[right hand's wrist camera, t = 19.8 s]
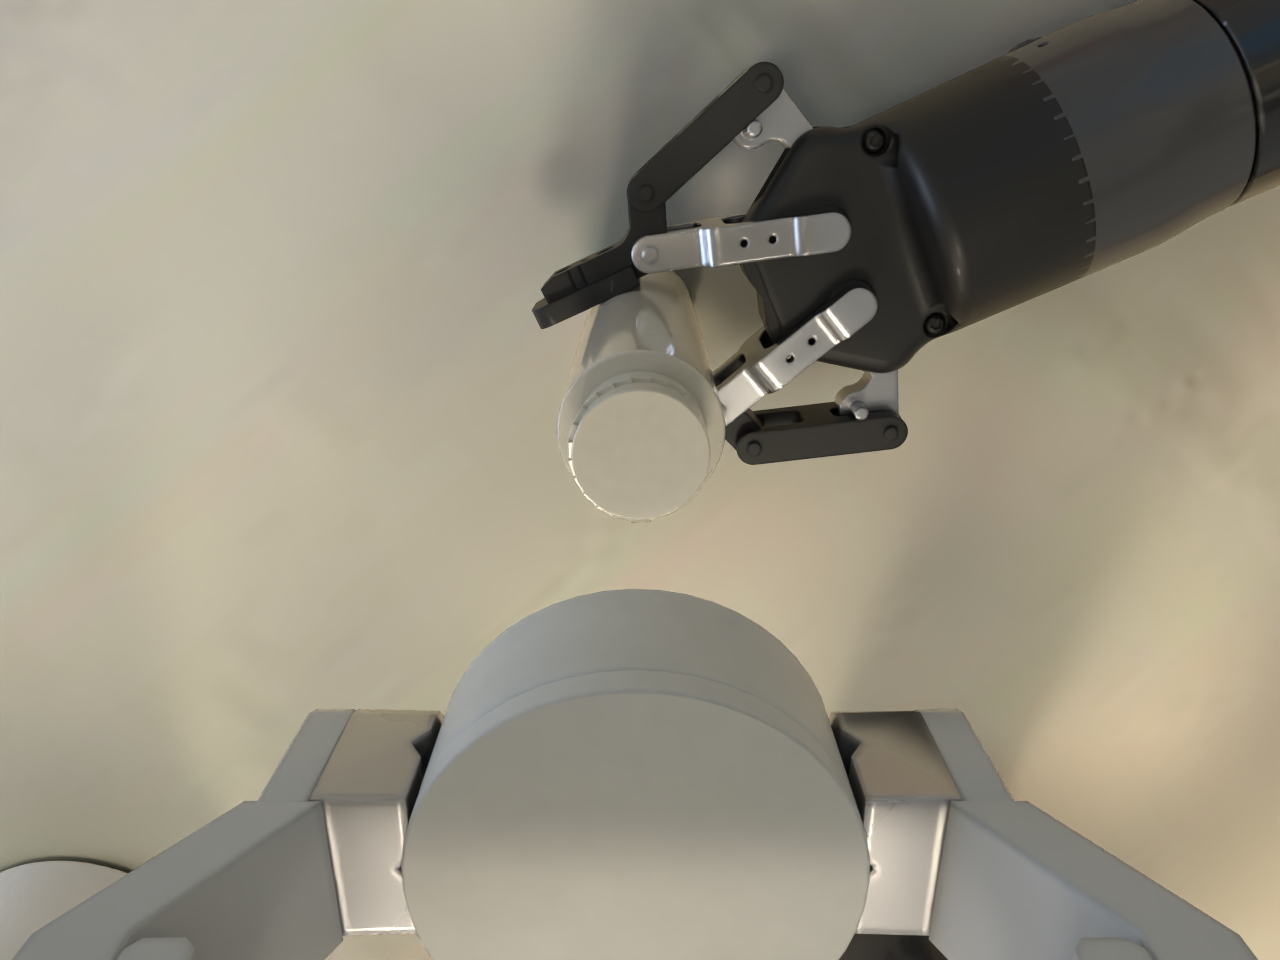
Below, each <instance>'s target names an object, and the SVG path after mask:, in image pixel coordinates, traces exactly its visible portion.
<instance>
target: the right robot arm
mask: <svg viewBox="0 0 1280 960" xmlns="http://www.w3.org/2000/svg"><path fill="white" fill-rule="evenodd" d="M443 719H444V716H443V715H442V713H441V712H440V711H413V710H367V709H359V710H354V709H316V710H315V711H313V712H311V713H309V714H308V715H307V717H306V718H305V720H304V722H303V724H302V725H301V727H300V729H299V730H298V732H297V734H296V736H295V737H294V739H293V741H292V742H291V744H290V746H289V748H288V749H287V751H286V753H285V755H284V756H283V758H282V760H281V761H280V763H279V765H278V767H277V768H276V770H275V772H274V773H273V775H272V777H271V779H270V780H269V782H268V784H267V785H266V787H265V789H264V791H263V792H262V794H261V796H260V797H259V799H258V801H244V802H242V803H241V804H239V805H238V806H236V807H234V808H233V809H231V810H229V811H228V812H226V813H225V814H223V815H221V816H220V817H218V818H217V819H215V820H213V821H212V822H210V823H209V824H207V825H205V826H204V827H202V828H201V829H199V830H197V831H196V832H194V833H193V834H191V835H189V836H188V837H186V838H184V839H183V840H181V841H180V842H178V843H176V844H175V845H173V846H172V847H170V848H168V849H167V850H165V851H164V852H162V853H160V854H159V855H157V856H156V857H154V858H152V859H151V860H149V861H148V862H146V863H144V864H143V865H141V866H139V867H138V868H136V869H135V870H133V871H131V872H130V873H126V872H123V871H120V870H117V869H113V868H109V867H106V866H101V865H97V864H91V863H85V862H76V861H42V862H34V863H28V864H24V865H20V866H16V867H13V868H10V869H7V870H5V871H2V872H0V960H324V959H325V958H326V957H327V956H328V955H329V954H330V953H331V952H332V951H333V950H334V949H335V948H336V947H337V946H338V945H339V944H340V943H341V942H342V941H343V936H348V935H382V934H416V930H415V928H414V925H413V923H412V921H411V918H410V916H409V913H408V909H407V905H406V900H405V896H404V892H403V884H402V870H401V862H402V853H403V843H404V838H405V835H406V831H407V828H408V824H409V821H410V817H411V814H412V811H413V808H414V805H415V802H416V799H417V797H418V794H419V790H420V787H421V784H422V781H423V779H424V776H425V773H426V770H427V767H428V764H429V761H430V758H431V755H432V752H433V749H434V746H435V743H436V740H437V737H438V734H439V731H440V728H441V725H442V722H443ZM829 721H830V725H831V728H832V731H833V734H834V737H835V740H836V743H837V746H838V749H839V752H840V755H841V758H842V761H843V764H844V768H845V771H846V774H847V777H848V780H849V783H850V786H851V789H852V792H853V795H854V798H855V801H856V804H857V808H858V811H859V814H860V817H861V820H862V823H863V826H864V829H865V832H866V837H867V843H868V849H869V855H870V882H869V888H868V893H867V899H866V904H865V908H864V911H863V914H862V917H861V919H860V922H859V925H858V928H857V930H856V932H855V934H889V935H924V936H929V940H930V941H931V942H932V943H933V944H934V945H935V947H936V948H937V949H938V950H939V951H940V952H941V953H942V954H943V955H944V956H945V957H946V958H947V959H948V960H1258V959H1257V958H1256V956H1255V955H1254V954H1253V952H1252V951H1251V950H1250V948H1249V947H1248V946H1247V944H1246V943H1245V942H1244V940H1243V939H1242V938H1241V936H1240V935H1239V934H1237V933H1235V932H1234V931H1232V930H1231V929H1229V928H1227V927H1226V926H1224V925H1223V924H1221V923H1220V922H1218V921H1216V920H1215V919H1213V918H1212V917H1210V916H1208V915H1207V914H1205V913H1204V912H1202V911H1201V910H1199V909H1197V908H1196V907H1194V906H1193V905H1191V904H1189V903H1188V902H1186V901H1185V900H1183V899H1181V898H1180V897H1178V896H1177V895H1175V894H1174V893H1172V892H1170V891H1169V890H1167V889H1166V888H1164V887H1162V886H1161V885H1159V884H1158V883H1156V882H1154V881H1153V880H1151V879H1150V878H1148V877H1147V876H1145V875H1143V874H1142V873H1140V872H1139V871H1137V870H1135V869H1134V868H1132V867H1131V866H1129V865H1127V864H1126V863H1124V862H1123V861H1121V860H1120V859H1118V858H1116V857H1115V856H1113V855H1112V854H1110V853H1108V852H1107V851H1105V850H1104V849H1102V848H1100V847H1099V846H1097V845H1096V844H1094V843H1093V842H1091V841H1089V840H1088V839H1086V838H1085V837H1083V836H1081V835H1080V834H1078V833H1077V832H1075V831H1074V830H1072V829H1070V828H1069V827H1067V826H1066V825H1064V824H1062V823H1061V822H1059V821H1058V820H1056V819H1054V818H1053V817H1051V816H1050V815H1048V814H1047V813H1045V812H1043V811H1042V810H1040V809H1039V808H1037V807H1035V806H1034V805H1032V804H1031V803H1029V802H1027V801H1014V800H1013V798H1012V797H1011V795H1010V793H1009V791H1008V790H1007V788H1006V786H1005V784H1004V783H1003V781H1002V779H1001V777H1000V776H999V774H998V772H997V771H996V769H995V767H994V765H993V764H992V762H991V760H990V758H989V757H988V755H987V753H986V751H985V750H984V748H983V746H982V745H981V743H980V741H979V739H978V738H977V736H976V734H975V732H974V731H973V729H972V727H971V725H970V724H969V722H968V720H967V719H966V717H965V715H964V713H962V712H961V711H959V710H958V709H929V710H915V711H880V712H831V713H830V717H829Z"/></svg>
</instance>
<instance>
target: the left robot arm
mask: <svg viewBox="0 0 1280 960" xmlns="http://www.w3.org/2000/svg"><path fill="white" fill-rule="evenodd" d="M783 85H784V80H783V75H782V73H781V71H780V70H779V68H778V67H777V66H776V65H774V64H772V63H769V62H760V63H757V64H755V65H754V66H752V67H750V68H748V69H747V70H745V71H744V72H743V73H742V74H741V75H739V76H738V77H737V78H736V79H735V80H734V81H733V82H732V83H731V84H730V85H729V86H728V87H727V88H726V89H725V90H723V91H722V92H721V93H720V94H719V95H718V96H717V97H716V98H715V99H714V100H713V101H712V102H711V103H710V104H709V105H708V106H706V107H705V108H704V109H703V110H702V111H701V112H700V113H699V114H698V115H697V116H696V117H695V118H694V119H693V120H692V121H690V122H689V123H688V124H687V125H686V126H685V127H684V128H683V129H682V130H681V131H680V132H679V133H678V134H677V135H676V136H675V137H673V138H672V139H671V140H670V141H669V142H668V143H667V144H666V145H665V146H664V147H663V148H662V149H661V150H660V151H659V152H657V153H656V154H655V155H654V156H653V157H652V158H651V159H650V160H649V161H648V162H647V163H646V164H645V165H644V166H643V167H642V168H640V169H639V170H638V171H637V172H636V173H635V174H634V175H633V176H632V177H631V179H630V181H629V184H628V188H627V198H628V211H629V230H628V232H627V234H626V235H625V237H624V238H623V239H622V240H621V241H619V242H618V243H616V244H614V245H612V246H609V247H607V248H605V249H603V250H601V251H599V252H596V253H594V254H592V255H590V256H588V257H586V258H584V259H582V260H579V261H577V262H575V263H573V264H571V265H568V266H566V267H564V268H562V269H560V270H558V271H556V272H555V273H554V274H553V275H552V276H551V277H550V278H549V279H548V280H547V281H546V283H545V284H544V286H543V287H542V289H541V291H542V293H543V295H544V297H545V298H544V299H542V300H540V301H538V302H537V303H536V304H535V306H534V308H533V309H532V312H533V314H534V316H535V318H536V320H537V322H538V324H539V326H540V328H541V329H544V328H547V327H550V326H552V325H554V324H557V323H559V322H561V321H563V320H566V319H568V318H570V317H572V316H574V315H577V314H579V313H581V312H583V311H585V310H588V309H590V308H592V307H594V306H596V305H599V304H601V303H603V302H605V301H607V300H609V299H611V298H613V297H615V296H617V295H620V294H623V293H625V292H627V291H629V290H632V289H634V288H636V287H638V286H640V277H643V276H645V275H647V274H652V273H660V272H667V271H674V270H681V269H689V268H696V267H720V266H727V265H735V264H740V266H741V269H742V271H743V273H744V274H745V275H746V277H747V278H748V280H749V281H750V282H751V284H752V285H753V286H754V287H755V289H756V291H757V299H758V307H759V313H760V316H761V318H762V321H763V323H764V326H763V327H762V328H761V329H760V330H759V331H757V332H756V333H755V334H754V335H752V336H751V337H750V338H749V339H748V340H747V341H745V342H744V344H743V345H742V346H741V348H740V349H739V351H738V352H737V353H736V354H734V355H733V356H732V357H731V358H730V359H728V360H727V361H726V362H725V363H723V364H722V365H721V366H720V367H719V368H717V369H716V370H715V371H714V372H713V373H712V374H713V378H714V381H715V385H716V388H717V392H718V395H719V399H720V402H721V406H722V409H723V413H724V419H725V439H726V440H727V441H728V442H729V443H730V444H731V445H732V446H733V447H734V448H735V449H736V450H737V453H738V456H739V458H740V459H741V460H742V461H743V462H745V463H747V464H751V465H756V464H765V463H774V462H783V461H791V460H800V459H809V458H818V457H827V456H836V455H844V454H853V453H862V452H871V451H880V450H889V449H894V448H897V447H899V446H900V445H901V444H902V443H903V442H904V441H905V439H906V437H907V434H908V429H907V426H906V424H905V422H904V421H903V420H902V419H901V417H900V415H899V413H898V369H900V368H901V367H903V366H904V365H905V364H907V363H908V362H909V361H910V359H911V358H912V357H913V356H914V355H915V353H916V352H917V351H918V350H919V349H920V348H922V347H923V346H924V345H925V344H927V343H928V342H929V341H931V340H933V339H935V338H937V337H940V336H943V335H946V334H948V333H951V332H954V331H957V330H959V329H961V328H964V327H966V326H968V325H971V324H973V323H975V322H978V321H980V320H983V319H985V318H987V317H990V316H992V315H994V314H997V313H999V312H1001V311H1004V310H1006V309H1009V308H1011V307H1013V306H1016V305H1018V304H1020V303H1023V302H1025V301H1028V300H1030V299H1032V298H1035V297H1037V296H1039V295H1042V294H1044V293H1047V292H1049V291H1051V290H1054V289H1056V288H1058V287H1061V286H1063V285H1066V284H1068V283H1070V282H1073V281H1075V280H1077V279H1080V278H1082V277H1085V276H1087V275H1089V274H1092V273H1094V272H1096V271H1099V270H1101V269H1103V268H1106V267H1108V266H1111V265H1113V264H1115V263H1118V262H1120V261H1122V260H1125V259H1127V258H1130V257H1132V256H1134V255H1137V254H1139V253H1142V252H1144V251H1146V250H1148V249H1150V248H1152V247H1155V246H1157V245H1159V244H1161V243H1163V242H1165V241H1166V240H1168V239H1170V238H1172V237H1174V236H1176V235H1177V234H1179V233H1181V232H1182V231H1184V230H1186V229H1187V228H1189V227H1191V226H1192V225H1194V224H1196V223H1198V222H1199V221H1201V220H1203V219H1205V218H1207V217H1209V216H1211V215H1213V214H1215V213H1217V212H1219V211H1221V210H1223V209H1225V208H1227V207H1229V206H1231V205H1234V204H1236V203H1238V202H1241V201H1243V200H1246V199H1248V198H1250V197H1253V196H1255V195H1257V194H1260V193H1262V192H1264V191H1267V190H1269V189H1272V188H1274V187H1276V186H1279V185H1280V0H1140V1H1137V2H1134V3H1131V4H1128V5H1125V6H1122V7H1118V8H1115V9H1112V10H1108V11H1105V12H1102V13H1099V14H1096V15H1093V16H1090V17H1087V18H1085V19H1082V20H1080V21H1078V22H1075V23H1073V24H1070V25H1068V26H1066V27H1064V28H1062V29H1060V30H1057V31H1055V32H1053V33H1051V34H1049V35H1046V36H1044V37H1039V38H1035V39H1030V40H1027V41H1025V42H1023V43H1021V44H1019V45H1017V46H1016V47H1014V48H1013V49H1011V50H1010V51H1009V52H1008V53H1007V54H1006V55H1004V56H1002V57H999V58H997V59H995V60H993V61H991V62H988V63H986V64H984V65H982V66H980V67H978V68H976V69H973V70H971V71H969V72H967V73H965V74H963V75H961V76H959V77H956V78H954V79H952V80H950V81H948V82H946V83H944V84H941V85H939V86H937V87H935V88H933V89H931V90H929V91H926V92H924V93H922V94H920V95H918V96H916V97H914V98H911V99H909V100H907V101H905V102H903V103H901V104H899V105H896V106H894V107H892V108H890V109H888V110H886V111H884V112H881V113H879V114H877V115H875V116H873V117H871V118H869V119H867V120H864V121H862V122H860V123H857V124H855V125H852V126H848V127H843V128H835V127H813V128H812V126H811V125H810V124H809V122H808V121H807V120H806V119H805V117H804V116H803V115H802V113H801V112H800V111H799V109H798V108H797V107H796V105H795V104H794V103H793V101H792V100H791V99H790V97H789V96H788V95H787V93H786V92H785V91H784V89H783ZM732 140H733V141H734V142H735V143H736V144H737V145H738V146H740V147H742V148H746V149H755V148H758V147H760V146H762V145H763V144H765V143H767V142H769V141H778V142H780V143H781V144H783V145H784V146H785V147H786V148H785V150H784V152H783V153H782V155H781V157H780V158H779V160H778V162H777V163H776V165H775V167H774V168H773V170H772V172H771V173H770V175H769V177H768V179H767V180H766V182H765V184H764V185H763V187H762V189H761V190H760V192H759V194H758V195H757V197H756V199H755V200H754V202H753V204H752V206H751V207H750V209H749V211H748V212H747V213H741V214H734V215H727V216H720V217H713V218H706V219H701V220H698V221H694V222H688V223H680V224H673V225H667V224H666V207H665V202H666V201H667V200H668V199H669V198H670V197H671V196H672V195H673V194H674V193H675V192H676V191H678V190H679V189H680V188H681V187H682V186H683V185H684V184H685V183H686V182H687V181H688V180H690V179H691V178H692V177H693V176H694V175H695V174H696V173H697V172H698V171H699V170H700V169H701V168H703V167H704V166H705V165H706V164H707V163H708V162H709V161H710V160H711V159H712V158H713V157H715V156H716V155H717V154H718V153H719V152H720V151H721V150H722V149H723V148H724V147H725V146H727V145H728V144H729V143H730V142H731V141H732ZM790 355H791V358H790V359H786V358H787V357H788V356H790ZM815 361H819V362H824V363H829V364H834V365H839V366H844V367H849V368H853V369H858V370H863V371H865V372H864V375H863V377H862V378H861V379H860V380H859V381H858V382H856V383H855V384H852V385H848V386H845V387H844V388H842V389H841V390H840V391H839V392H838V393H837V395H836V397H835V402H829V403H820V404H811V405H803V406H794V407H786V408H777V409H768V410H760V411H751V410H750V409H749V408H750V407H751V406H752V405H754V404H755V403H756V402H757V401H759V400H760V399H761V398H762V397H764V396H765V395H767V394H769V393H774V392H776V391H778V390H779V389H781V388H782V387H783V386H785V385H786V384H787V383H788V382H790V381H791V380H792V379H793V378H795V377H796V376H797V375H799V374H800V373H801V372H802V371H804V370H805V369H806V368H807V367H809V366H810V365H811V364H812V363H814V362H815ZM839 960H948V959H947V958H946V957H945V956H944V955H943V954H942V953H941V952H940V951H939V950H938V949H937V948H936V947H935V945H934V944H933V943H932V942H931V941H930V940H929V936H924V935H889V934H854V936H853V938H852V939H851V941H850V943H849V945H848V947H847V949H846V950H845V952H844V953H843V954H842V956H841V957H840V958H839Z"/></svg>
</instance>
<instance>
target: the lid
mask: <svg viewBox="0 0 1280 960" xmlns="http://www.w3.org/2000/svg"><path fill="white" fill-rule="evenodd" d="M401 870H402V884H403V892H404V896H405V900H406V905H407V909H408V913H409V916H410V918H411V921H412V923H413V925H414V928H415V930H416V933H417V935H418V937H419V939H420V940H421V942H422V944H423V945H424V947H425V949H426V950H427V952H428V954H429V955H430V957H431V958H432V959H433V960H839V958H840V957H841V956H842V954H843V953H844V952H845V950H846V949H847V947H848V945H849V943H850V941H851V939H852V938H853V936H854V934H855V932H856V930H857V928H858V925H859V922H860V919H861V917H862V914H863V911H864V908H865V904H866V899H867V893H868V888H869V882H870V855H869V849H868V843H867V837H866V832H865V829H864V826H863V823H862V820H861V817H860V814H859V811H858V808H857V804H856V801H855V798H854V795H853V792H852V789H851V786H850V783H849V780H848V777H847V774H846V771H845V768H844V764H843V761H842V758H841V755H840V752H839V749H838V746H837V743H836V740H835V737H834V734H833V731H832V728H831V725H830V721H829V718H828V715H827V713H826V710H825V707H824V704H823V701H822V698H821V696H820V694H819V692H818V690H817V688H816V686H815V684H814V682H813V680H812V678H811V677H810V675H809V674H808V672H807V671H806V670H805V668H804V667H803V666H802V664H801V663H800V662H799V660H798V659H797V658H796V657H795V656H794V655H793V654H792V653H791V652H790V651H789V650H788V649H787V647H786V646H785V645H784V644H783V643H782V642H781V641H780V640H778V639H777V638H776V637H774V636H773V635H772V634H770V633H769V632H768V631H767V630H765V629H764V628H763V627H761V626H760V625H758V624H757V623H755V622H753V621H751V620H750V619H748V618H746V617H744V616H743V615H741V614H739V613H737V612H736V611H733V610H731V609H728V608H726V607H724V606H721V605H719V604H716V603H714V602H712V601H708V600H704V599H701V598H697V597H694V596H690V595H687V594H681V593H675V592H668V591H662V590H644V589H625V590H612V591H602V592H597V593H592V594H587V595H582V596H577V597H574V598H571V599H568V600H565V601H562V602H559V603H556V604H553V605H551V606H548V607H546V608H544V609H542V610H540V611H538V612H536V613H533V614H531V615H529V616H527V617H526V618H524V619H523V620H521V621H519V622H518V623H516V624H515V625H513V626H511V627H510V628H508V629H507V630H505V631H504V632H503V633H502V634H501V635H499V636H498V637H497V638H496V639H495V640H493V641H492V642H491V643H490V644H489V645H488V646H487V647H486V648H485V649H484V650H483V651H482V652H481V653H480V654H479V655H478V657H477V658H476V659H475V660H474V661H473V662H472V663H471V665H470V666H469V668H468V669H467V671H466V672H465V674H464V675H463V677H462V678H461V680H460V681H459V683H458V685H457V687H456V689H455V691H454V693H453V695H452V698H451V700H450V702H449V704H448V707H447V710H446V713H445V716H444V719H443V722H442V725H441V728H440V731H439V734H438V737H437V740H436V743H435V746H434V749H433V752H432V755H431V758H430V761H429V764H428V767H427V770H426V773H425V776H424V779H423V781H422V784H421V787H420V790H419V794H418V797H417V799H416V802H415V805H414V808H413V811H412V814H411V817H410V821H409V824H408V828H407V831H406V835H405V838H404V843H403V853H402V862H401Z"/></svg>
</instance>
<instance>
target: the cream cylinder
mask: <svg viewBox="0 0 1280 960" xmlns="http://www.w3.org/2000/svg"><path fill="white" fill-rule="evenodd" d="M557 439H558V445H559V449H560V453H561V456H562V458H563V461H564V463H565V465H566V467H567V468H568V470H569V472H570V473H571V475H572V476H573V477H574V480H575V482H576V483H577V485H578V486H579V488H580V489H581V491H582V492H583V495H584V496H585V497H586V498H588V499H589V500H590V501H591V502H592V503H593V504H595V505H596V506H597V508H598V509H600V510H602V511H604V512H606V513H608V514H610V515H613V517H614V518H619V519H624V520H628V521H631V523H635V522H651V519H654V518H659V517H662V516H666V515H668V514H670V513H673V512H675V511H677V510H678V509H680V508H682V507H683V506H684V505H685V504H687V503H688V502H689V501H690V500H691V499H692V498H693V497H694V496H695V495H696V494H697V492H698V491H699V490H700V488H701V487H702V485H703V483H704V482H705V481H706V480H707V479H708V478H709V476H710V475H711V474H712V472H713V471H714V469H715V467H716V465H717V464H718V461H719V459H720V456H721V454H722V450H723V446H724V441H725V419H724V413H723V409H722V406H721V402H720V399H719V395H718V392H717V388H716V385H715V381H714V378H713V374H712V371H711V367H710V364H709V360H708V357H707V353H706V350H705V346H704V343H703V339H702V336H701V332H700V329H699V325H698V322H697V319H696V315H695V312H694V308H693V305H692V301H691V298H690V294H689V292H688V289H687V287H686V285H685V284H684V282H683V281H682V279H681V278H680V277H679V276H678V275H677V274H676V273H675V272H674V271H667V272H660V273H652V274H647V275H645V276H643V277H640V286H638V287H636V288H634V289H632V290H629V291H627V292H625V293H623V294H620V295H617V296H615V297H613V298H611V299H609V300H607V301H605V302H603V303H601V304H599V305H596V306H594V307H592V308H590V309H589V313H588V316H587V319H586V323H585V326H584V329H583V333H582V336H581V339H580V343H579V346H578V349H577V353H576V356H575V359H574V363H573V366H572V369H571V373H570V376H569V380H568V383H567V386H566V390H565V393H564V396H563V400H562V403H561V406H560V410H559V414H558V420H557Z"/></svg>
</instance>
